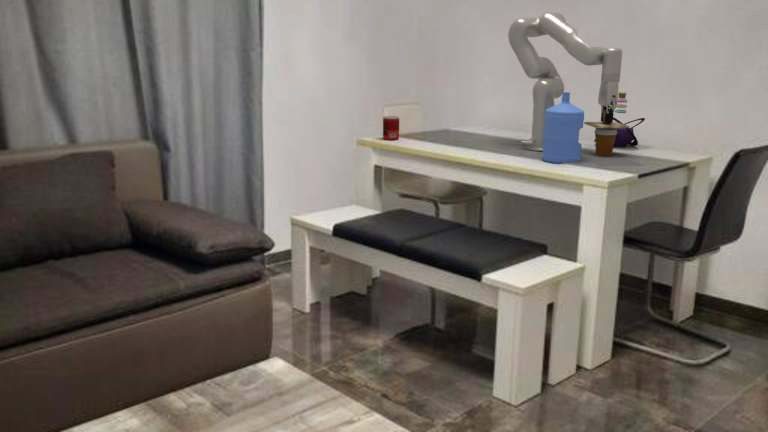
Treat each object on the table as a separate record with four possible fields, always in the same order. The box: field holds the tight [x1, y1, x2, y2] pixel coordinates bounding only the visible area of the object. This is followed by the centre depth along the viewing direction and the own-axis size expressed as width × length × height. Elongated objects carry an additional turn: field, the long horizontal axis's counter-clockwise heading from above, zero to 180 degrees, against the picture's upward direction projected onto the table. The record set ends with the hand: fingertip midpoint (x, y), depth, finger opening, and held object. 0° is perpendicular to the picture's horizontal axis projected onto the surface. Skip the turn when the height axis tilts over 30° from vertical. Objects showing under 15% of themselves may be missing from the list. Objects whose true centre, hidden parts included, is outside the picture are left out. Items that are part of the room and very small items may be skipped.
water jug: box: [541, 91, 585, 165], centre depth 297 cm, size 16×16×28 cm
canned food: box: [382, 115, 400, 142], centre depth 351 cm, size 8×8×11 cm
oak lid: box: [583, 109, 630, 129], centre depth 307 cm, size 14×14×7 cm
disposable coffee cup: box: [593, 128, 618, 157], centre depth 310 cm, size 10×10×12 cm
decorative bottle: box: [593, 91, 646, 148], centre depth 336 cm, size 22×21×25 cm
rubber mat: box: [586, 157, 645, 167], centre depth 293 cm, size 18×16×1 cm
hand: (606, 121), depth 307 cm, fingers closed on oak lid, 3 cm apart
